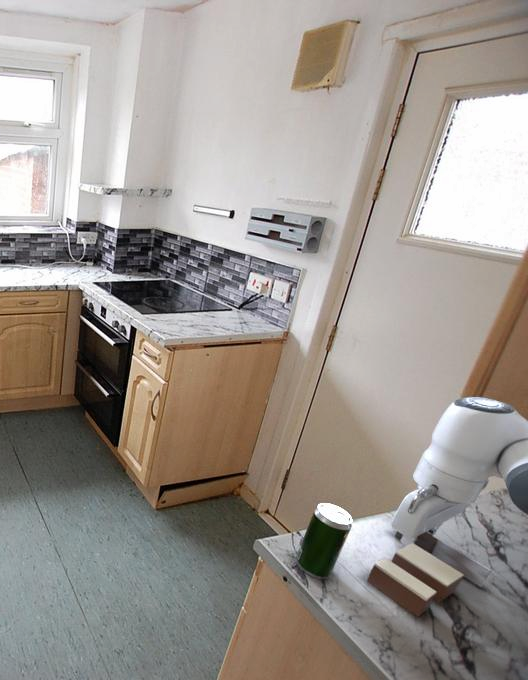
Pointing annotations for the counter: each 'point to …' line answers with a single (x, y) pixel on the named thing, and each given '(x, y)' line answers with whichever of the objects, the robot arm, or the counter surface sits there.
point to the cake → (428, 570)
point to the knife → (452, 558)
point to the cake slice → (401, 586)
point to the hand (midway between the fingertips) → (416, 539)
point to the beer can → (324, 540)
